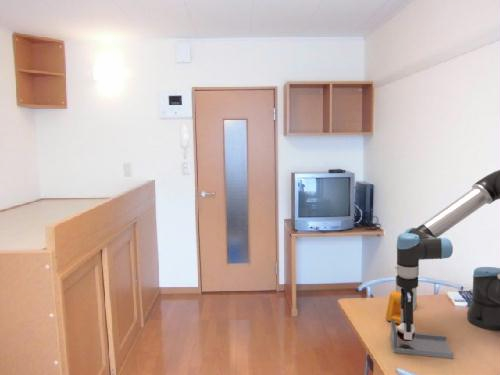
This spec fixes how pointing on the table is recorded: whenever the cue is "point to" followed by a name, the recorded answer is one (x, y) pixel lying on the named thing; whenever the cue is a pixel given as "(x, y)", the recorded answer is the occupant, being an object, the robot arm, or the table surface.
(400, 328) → the cocoa
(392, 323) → the grey dustpan
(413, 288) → the skincare box
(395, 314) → the bracket
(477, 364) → the table surface
